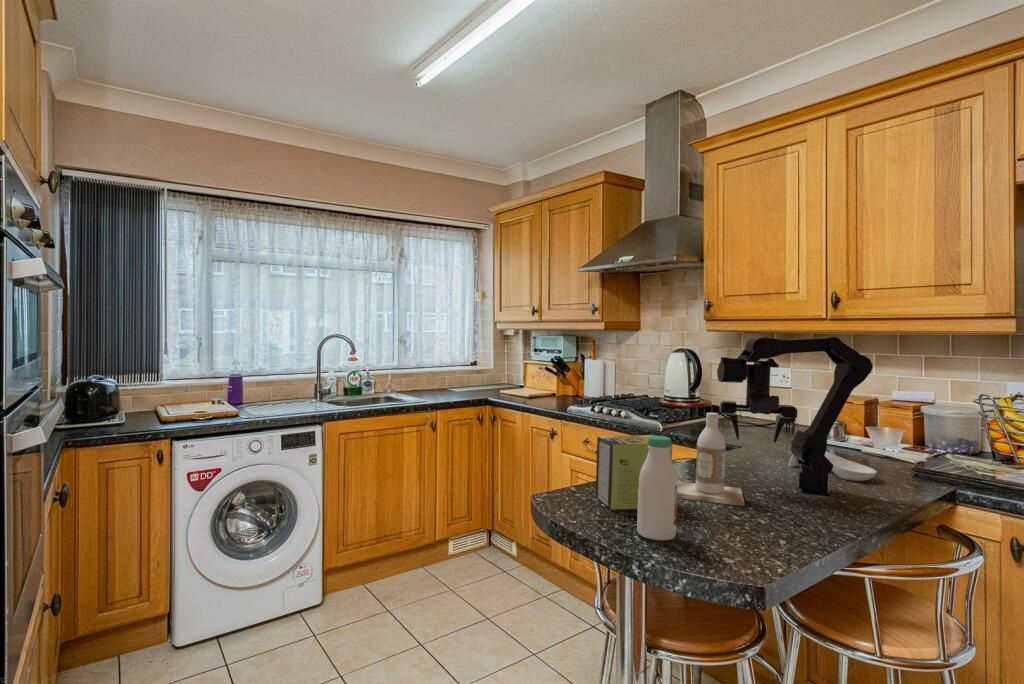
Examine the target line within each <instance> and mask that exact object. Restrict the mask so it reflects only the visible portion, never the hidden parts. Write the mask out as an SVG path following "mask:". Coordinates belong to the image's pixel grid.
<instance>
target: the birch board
mask: <svg viewBox="0 0 1024 684" xmlns="http://www.w3.org/2000/svg"><path fill="white" fill-rule="evenodd" d="M677 499H681V500H690V501H698V502H707V503H715V504H723V505H731V506H741V507H745V503H746V502H745V501H746V500H745V498H744V496H743V492H742V489H741V487H734V486H731V487H730V486H725V485H724V492H722V493H720V494H709V493H704V492H701V491H698V490H697V489H696V482H689V481H678V480H677Z"/></svg>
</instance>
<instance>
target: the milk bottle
mask: <svg viewBox="0 0 1024 684" xmlns="http://www.w3.org/2000/svg"><path fill="white" fill-rule="evenodd" d="M671 443H672V439H671V437H669V436H664V435H653V436H649V437H648V448H649V452H648V455H647V458H646V460H645V462H644V464H643V466H642V468H641V471H640V476H639V488H638V509H637V513H636V514H637V517H636V518H637V522H636V531H637V533H638V534H639V535H640V536H641V537H643V538H646V539H648V540H653V541H662V542H663V541H671V540H674V539H675V537H676V533H677V514H678V498H677V481H678V476H677V471H676V469H675V467H674V464H673V460H672V461H671V458H670V449H671Z"/></svg>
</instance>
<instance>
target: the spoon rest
mask: <svg viewBox="0 0 1024 684" xmlns="http://www.w3.org/2000/svg"><path fill="white" fill-rule="evenodd" d="M824 456H825V457H826V458H827V459H828V460H829V461H830V462H831V463H832V464H833V465H834V466H833V469H832V471H831V472H833V473H834V474H835V475H836V476H838V478H839V479H843V480H845V481H851V482H864V481H869V480H871V479H873V478H874V477H875V476H876V475H877V473H878V472H877V470H875V469H874V468H872V467H869V466H868V465H863V464H861V463H857V462H854V461H851V460H848V459H846V458H843V457H841V456H839V455H836V454H833V453H831V452H829V451H827V450H826V452H825V455H824ZM798 465H799V464H798V462H797V459H796V458H795V457H794V456H793V454H792V455H791V457H790V458H789V460H788V467H790V468H794V467H797V466H798Z"/></svg>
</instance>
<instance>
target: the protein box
mask: <svg viewBox="0 0 1024 684" xmlns="http://www.w3.org/2000/svg"><path fill="white" fill-rule="evenodd" d="M649 436H654V435H653V434H645V435H644V434H643V435H638V434H637V435H635V434H634V435H600V436H599V435H598V436H597V438H596V439H597V440H596V441H597V442H596V467H595V468H596V470H595V471H596V473H595V480H596V481H595V498H596V499H597V500H599V501H600V502H601V503H602V504H603V505H605V507H606V508H608V509H609V510H611V511H612V510H617V511H618V510H620V511H621V510H638V488H639V476H640V471H641V468H642V466H643V464H644V462H645V460H646V458H647V455H648V452H649V448H648V437H649ZM670 458H671V461H672V462H673V443H672V442H671V449H670Z"/></svg>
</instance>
